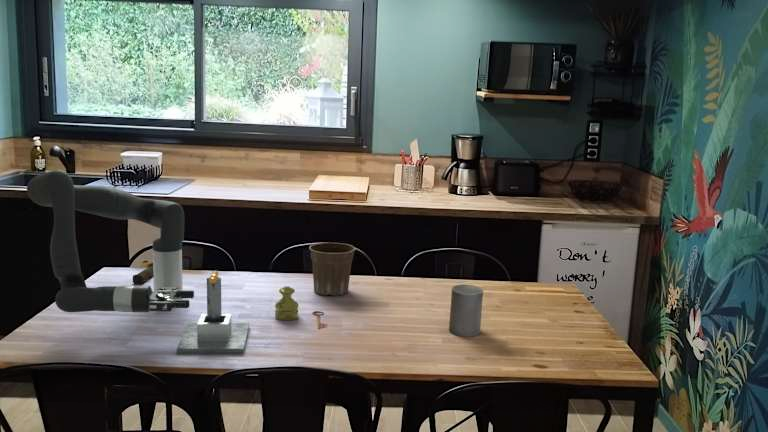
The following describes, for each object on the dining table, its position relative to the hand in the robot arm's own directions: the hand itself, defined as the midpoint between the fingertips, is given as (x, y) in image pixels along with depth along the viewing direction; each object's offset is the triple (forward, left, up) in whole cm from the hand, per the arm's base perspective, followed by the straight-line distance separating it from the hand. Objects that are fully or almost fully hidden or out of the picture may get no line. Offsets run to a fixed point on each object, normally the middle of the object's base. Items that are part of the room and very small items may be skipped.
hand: (191, 298), depth 208 cm
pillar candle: (-7, +81, -13) cm, 83 cm away
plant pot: (-47, +41, -13) cm, 64 cm away
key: (-17, +37, -13) cm, 43 cm away
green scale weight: (-20, +26, -13) cm, 35 cm away
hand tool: (-63, -26, -13) cm, 69 cm away
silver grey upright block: (0, +6, -11) cm, 13 cm away
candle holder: (0, +6, -12) cm, 14 cm away
